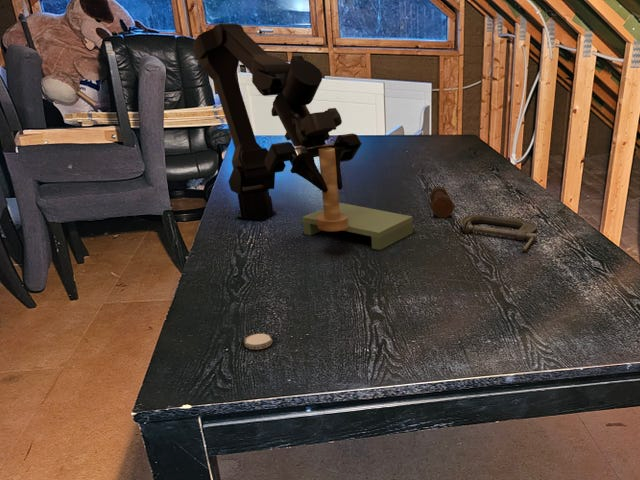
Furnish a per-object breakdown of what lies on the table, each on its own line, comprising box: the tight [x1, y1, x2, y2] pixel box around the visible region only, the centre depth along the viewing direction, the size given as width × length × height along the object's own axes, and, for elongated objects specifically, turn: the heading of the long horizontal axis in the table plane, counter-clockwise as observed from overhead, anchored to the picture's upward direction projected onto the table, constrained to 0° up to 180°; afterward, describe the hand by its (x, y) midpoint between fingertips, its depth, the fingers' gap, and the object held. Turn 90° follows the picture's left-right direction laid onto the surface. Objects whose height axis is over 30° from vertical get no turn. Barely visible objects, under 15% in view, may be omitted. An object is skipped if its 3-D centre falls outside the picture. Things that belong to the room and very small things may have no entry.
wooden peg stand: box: [317, 147, 348, 232], centre depth 126 cm, size 6×6×15 cm
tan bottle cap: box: [243, 333, 273, 350], centre depth 99 cm, size 4×4×1 cm
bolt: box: [428, 186, 456, 219], centre depth 161 cm, size 6×5×15 cm
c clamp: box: [459, 214, 538, 252], centre depth 146 cm, size 20×17×3 cm
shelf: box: [301, 202, 414, 251], centre depth 143 cm, size 20×13×4 cm, turn 63°
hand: (333, 190), depth 125 cm, fingers closed on wooden peg stand, 3 cm apart
